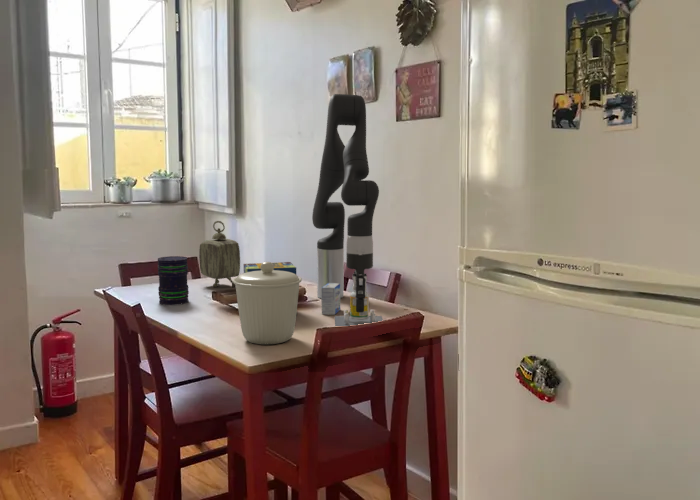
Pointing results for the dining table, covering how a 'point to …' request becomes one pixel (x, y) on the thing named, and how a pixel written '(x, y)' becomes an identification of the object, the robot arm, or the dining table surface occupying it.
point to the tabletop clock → (219, 257)
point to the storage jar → (173, 280)
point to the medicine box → (330, 298)
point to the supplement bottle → (353, 312)
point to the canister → (267, 304)
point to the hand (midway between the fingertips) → (359, 309)
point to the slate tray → (348, 321)
